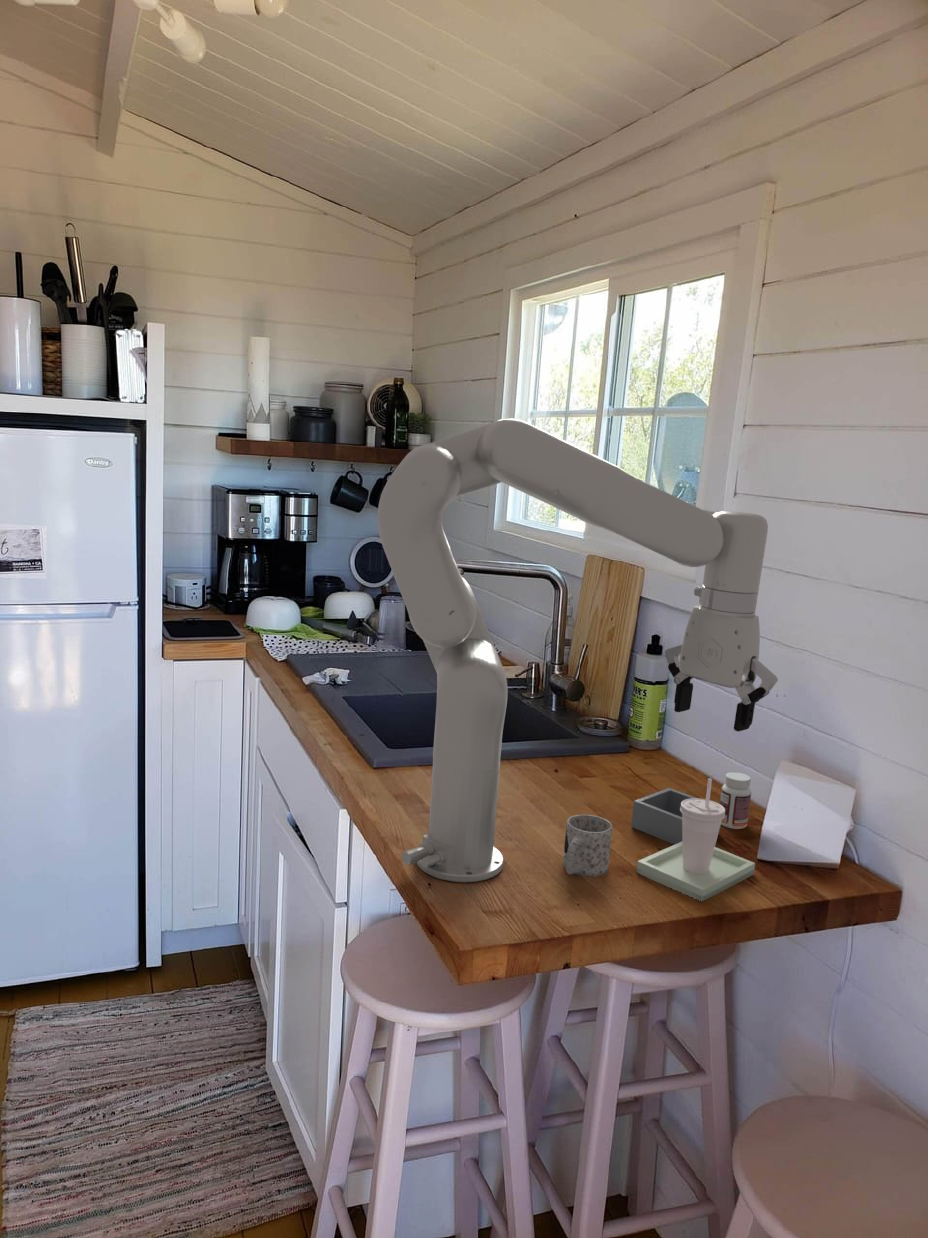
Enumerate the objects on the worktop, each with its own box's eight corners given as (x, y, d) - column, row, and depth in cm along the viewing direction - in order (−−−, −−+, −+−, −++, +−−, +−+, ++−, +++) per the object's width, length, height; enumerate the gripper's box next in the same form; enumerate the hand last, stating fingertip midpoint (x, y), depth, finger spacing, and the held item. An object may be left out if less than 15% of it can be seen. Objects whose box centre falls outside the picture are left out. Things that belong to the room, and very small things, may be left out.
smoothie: (707, 883, 136) (718, 789, 133) (665, 868, 140) (676, 777, 137) (724, 868, 141) (736, 778, 138) (684, 854, 145) (694, 766, 142)
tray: (701, 902, 132) (703, 890, 132) (636, 872, 140) (637, 861, 139) (753, 874, 142) (755, 863, 141) (689, 848, 149) (691, 837, 149)
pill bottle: (749, 822, 161) (755, 775, 160) (744, 832, 157) (750, 783, 155) (720, 816, 163) (726, 769, 162) (715, 825, 159) (721, 777, 157)
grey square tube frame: (683, 848, 149) (686, 821, 148) (631, 826, 156) (633, 800, 155) (717, 833, 156) (721, 807, 155) (666, 812, 163) (669, 787, 162)
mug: (573, 852, 145) (577, 811, 144) (615, 864, 142) (619, 822, 141) (545, 876, 137) (549, 832, 135) (588, 890, 134) (592, 845, 132)
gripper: (660, 591, 136) (645, 707, 139) (771, 616, 124) (752, 742, 127) (689, 589, 141) (674, 700, 145) (799, 612, 129) (779, 733, 133)
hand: (710, 720), depth 136 cm, fingers open, 9 cm apart
